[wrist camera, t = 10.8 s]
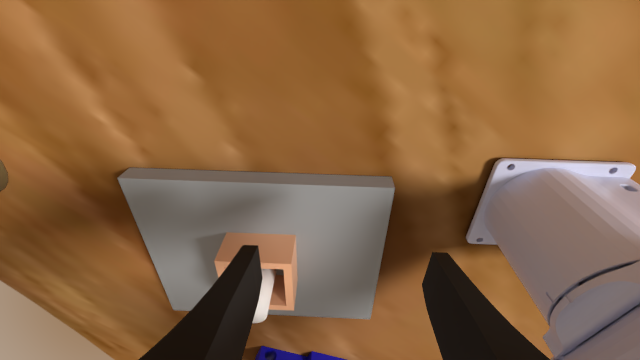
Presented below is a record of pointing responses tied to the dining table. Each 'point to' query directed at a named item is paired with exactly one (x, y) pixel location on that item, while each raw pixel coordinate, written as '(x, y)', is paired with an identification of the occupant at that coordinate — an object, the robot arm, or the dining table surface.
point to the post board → (265, 232)
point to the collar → (267, 262)
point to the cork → (3, 176)
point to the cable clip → (290, 355)
